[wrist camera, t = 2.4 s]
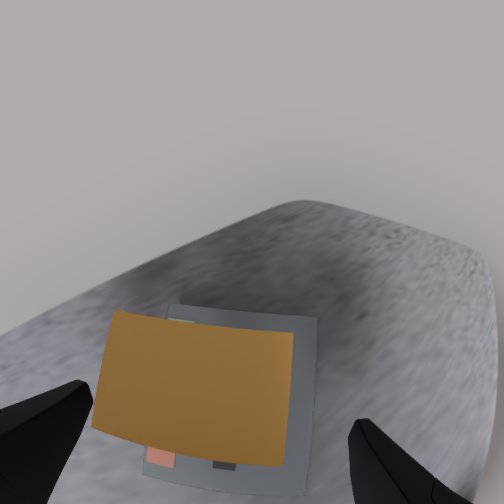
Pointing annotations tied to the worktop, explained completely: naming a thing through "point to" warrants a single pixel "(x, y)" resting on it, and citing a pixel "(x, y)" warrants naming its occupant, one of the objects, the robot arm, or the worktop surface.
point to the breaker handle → (196, 389)
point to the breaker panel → (298, 425)
